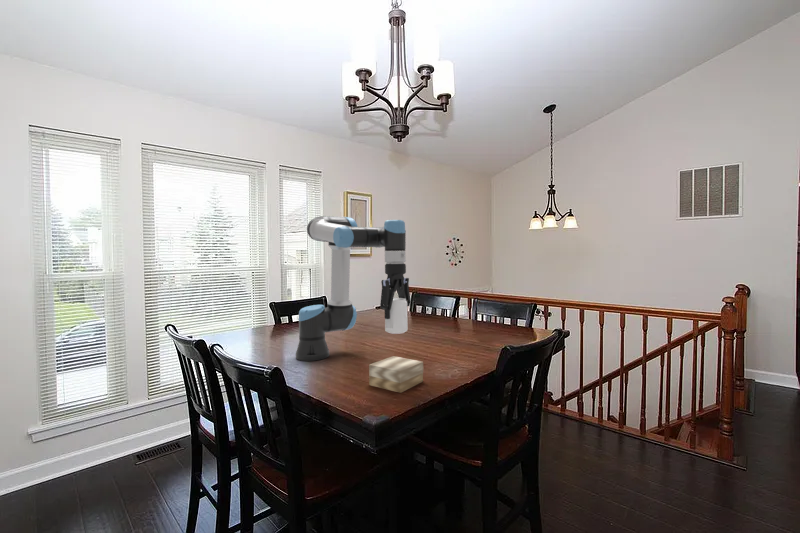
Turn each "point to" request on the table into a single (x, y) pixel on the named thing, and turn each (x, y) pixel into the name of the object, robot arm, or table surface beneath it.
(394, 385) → the bottom slab
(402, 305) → the beverage can
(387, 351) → the table surface
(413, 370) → the top slab
